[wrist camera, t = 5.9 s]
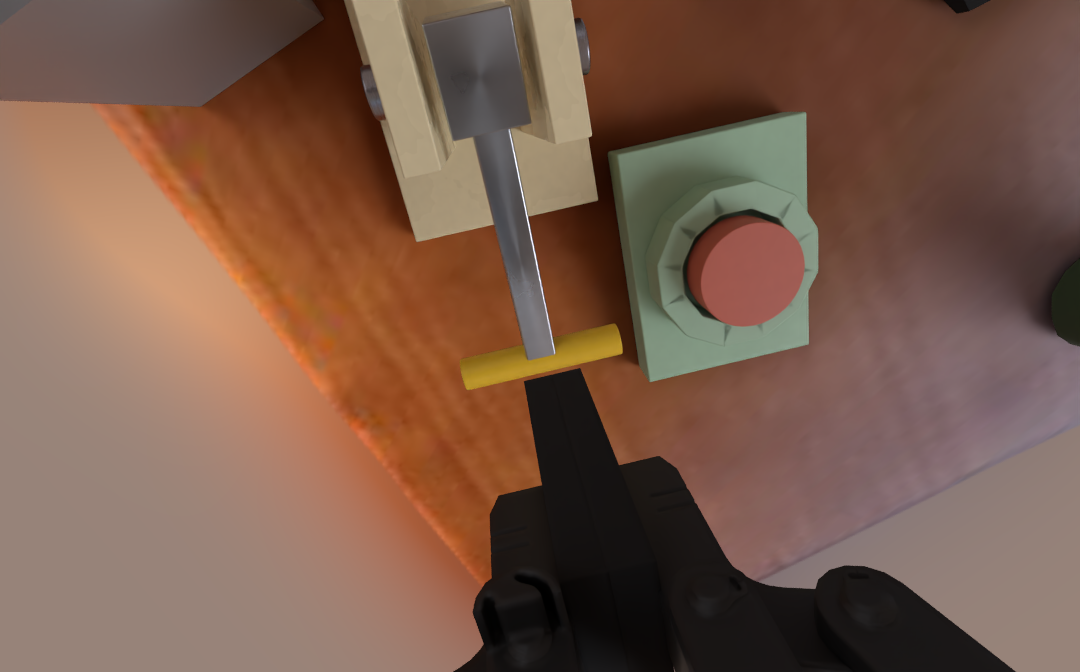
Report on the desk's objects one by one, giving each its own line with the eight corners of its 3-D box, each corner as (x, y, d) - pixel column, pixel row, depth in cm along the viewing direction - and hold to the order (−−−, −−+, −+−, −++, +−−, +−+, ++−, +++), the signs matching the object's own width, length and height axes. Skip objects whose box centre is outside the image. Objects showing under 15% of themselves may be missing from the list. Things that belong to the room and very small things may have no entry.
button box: (606, 151, 27) (627, 157, 23) (784, 111, 27) (833, 110, 23) (639, 367, 31) (660, 400, 28) (790, 331, 32) (831, 360, 28)
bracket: (593, 197, 27) (682, 259, 16) (418, 237, 27) (374, 330, 15) (546, -90, 23) (622, -311, 11) (335, -44, 23) (180, -218, 11)
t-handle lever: (611, 333, 22) (628, 369, 20) (466, 367, 22) (468, 407, 20) (568, -15, 15) (587, -12, 13) (356, 32, 15) (343, 41, 13)
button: (681, 227, 25) (695, 236, 23) (783, 204, 25) (804, 210, 23) (691, 323, 27) (705, 337, 25) (785, 301, 27) (805, 313, 25)
